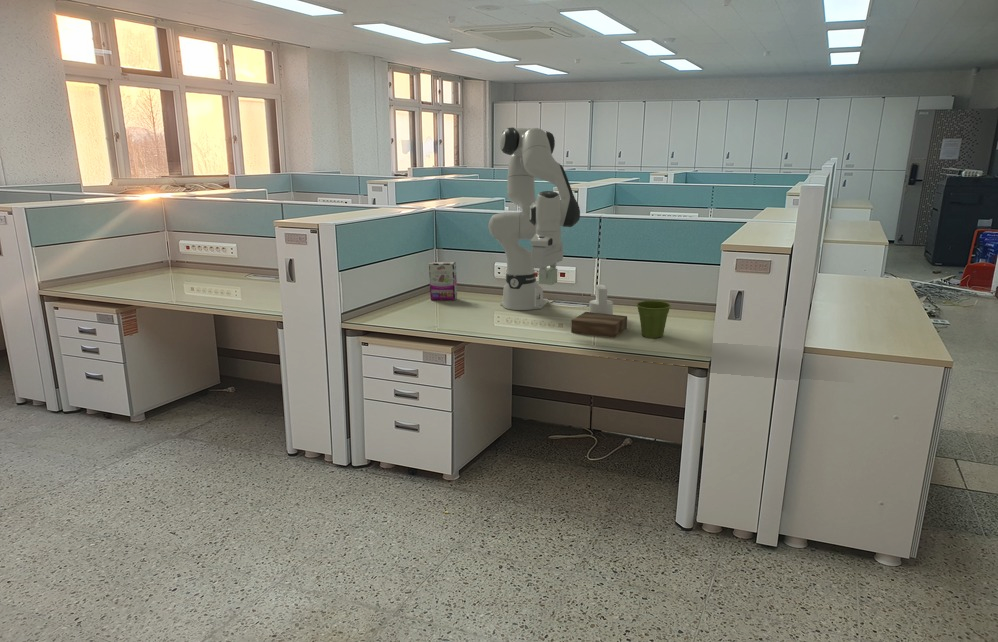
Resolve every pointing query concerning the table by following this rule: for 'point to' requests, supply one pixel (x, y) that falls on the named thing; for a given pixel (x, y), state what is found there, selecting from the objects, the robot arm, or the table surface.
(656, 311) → the plant pot
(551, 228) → the robot arm
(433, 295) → the candy bar box
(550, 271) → the sage cube
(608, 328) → the walnut block
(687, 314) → the table surface
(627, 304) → the table surface
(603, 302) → the base with upright slab
